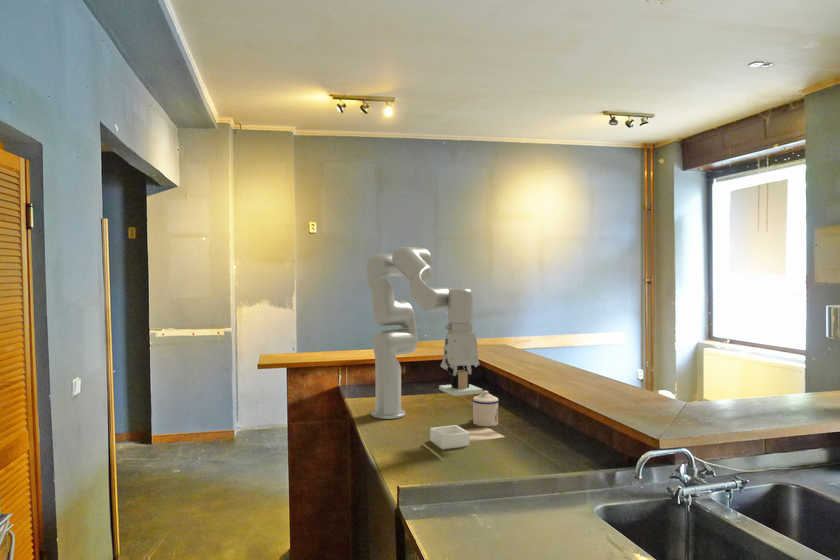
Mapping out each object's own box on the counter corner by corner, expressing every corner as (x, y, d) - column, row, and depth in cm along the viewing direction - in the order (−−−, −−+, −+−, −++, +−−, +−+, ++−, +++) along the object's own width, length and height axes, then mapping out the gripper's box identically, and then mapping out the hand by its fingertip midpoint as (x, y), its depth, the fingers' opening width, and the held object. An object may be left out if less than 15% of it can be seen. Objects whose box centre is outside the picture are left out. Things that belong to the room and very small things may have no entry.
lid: (439, 389, 163) (439, 369, 163) (466, 386, 167) (466, 367, 167) (453, 396, 153) (453, 375, 153) (482, 393, 158) (482, 372, 157)
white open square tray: (430, 442, 159) (430, 428, 159) (456, 439, 163) (456, 424, 163) (442, 451, 151) (442, 436, 151) (469, 447, 154) (469, 432, 154)
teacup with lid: (501, 427, 175) (501, 393, 175) (475, 428, 174) (475, 394, 174) (493, 418, 187) (493, 386, 187) (468, 419, 186) (468, 386, 186)
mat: (454, 432, 170) (454, 430, 170) (486, 428, 174) (486, 426, 174) (471, 443, 159) (471, 441, 159) (505, 438, 163) (505, 437, 163)
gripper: (442, 330, 153) (441, 392, 153) (489, 328, 160) (489, 387, 160) (431, 328, 160) (431, 387, 160) (477, 326, 167) (477, 382, 167)
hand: (460, 386), depth 160 cm, fingers closed on lid, 3 cm apart
